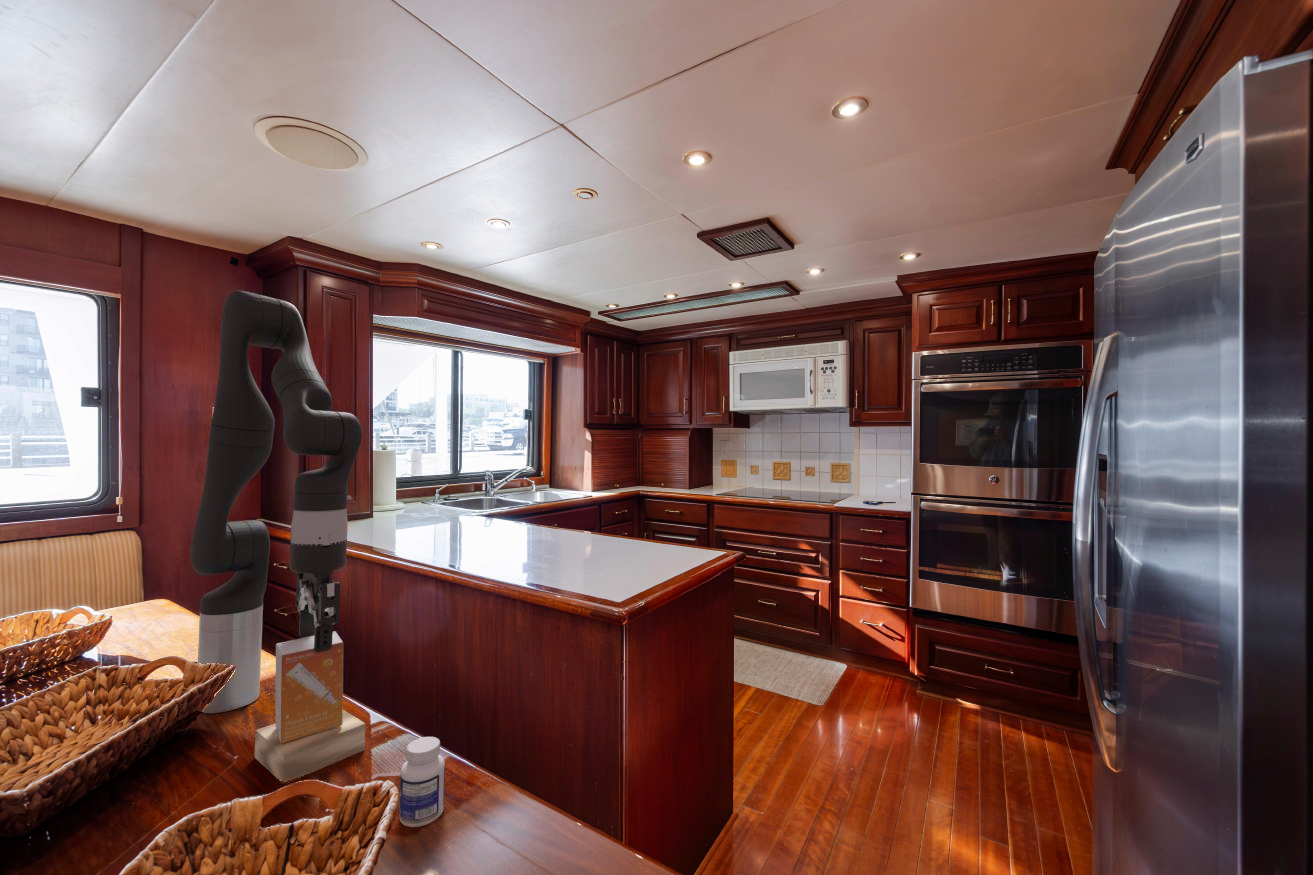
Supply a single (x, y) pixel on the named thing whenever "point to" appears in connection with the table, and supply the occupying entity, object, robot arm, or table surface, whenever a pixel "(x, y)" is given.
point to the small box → (308, 688)
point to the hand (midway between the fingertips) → (314, 643)
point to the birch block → (308, 748)
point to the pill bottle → (422, 783)
